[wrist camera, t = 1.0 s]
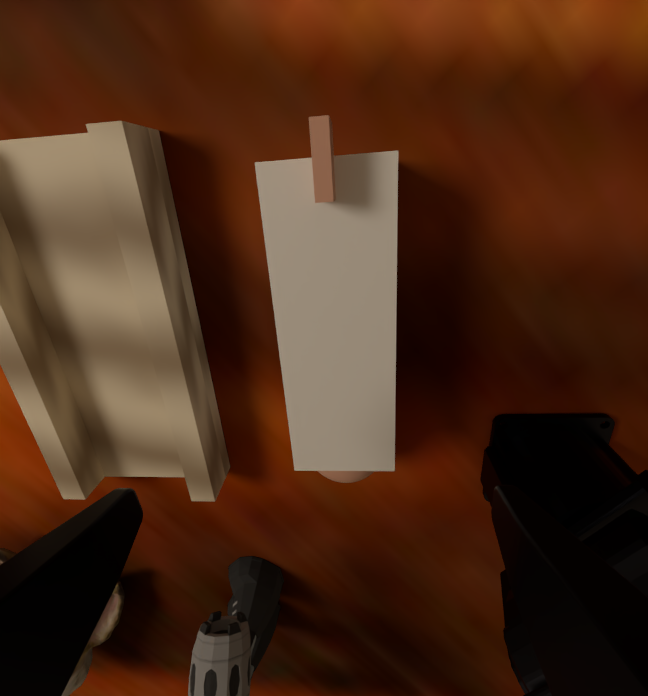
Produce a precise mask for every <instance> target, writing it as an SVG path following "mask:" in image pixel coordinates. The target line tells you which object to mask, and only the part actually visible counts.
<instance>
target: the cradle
mask: <svg viewBox="0 0 648 696" xmlns="http://www.w3.org/2000/svg"><path fill="white" fill-rule="evenodd" d="M86 127H87V130H88V133H81V134H70V135H58V136H47V137H36V138H25V139H13V140H2V141H0V365H1V367H2V369H3V371H4V373H5V375H6V377H7V379H8V382H9V384H10V386H11V388H12V390H13V392H14V394H15V397H16V399H17V401H18V403H19V405H20V407H21V409H22V412H23V414H24V416H25V418H26V420H27V422H28V424H29V426H30V429H31V431H32V433H33V435H34V437H35V439H36V441H37V444H38V446H39V448H40V450H41V452H42V454H43V456H44V459H45V461H46V463H47V465H48V467H49V469H50V471H51V474H52V476H53V478H54V480H55V482H56V484H57V486H58V488H59V491H60V493H61V495H62V497H63V499H86V498H87V497H88V496H89V494H90V493H91V492H92V491H93V490H94V489H95V487H96V486H97V485H98V484H99V483H100V482H101V480H102V479H103V478H104V477H105V476H114V477H185V479H186V483H187V487H188V490H189V494H190V497H191V501H216V498H217V496H218V494H219V491H220V489H221V487H222V485H223V482H224V480H225V478H226V476H227V473H228V471H229V469H230V463H229V458H228V453H227V449H226V444H225V439H224V435H223V430H222V425H221V421H220V416H219V411H218V406H217V402H216V397H215V392H214V388H213V383H212V378H211V374H210V369H209V364H208V359H207V355H206V350H205V345H204V341H203V336H202V331H201V327H200V322H199V317H198V312H197V308H196V303H195V298H194V294H193V289H192V284H191V280H190V275H189V270H188V265H187V261H186V256H185V251H184V247H183V242H182V237H181V233H180V228H179V223H178V218H177V214H176V209H175V204H174V200H173V195H172V190H171V186H170V181H169V176H168V171H167V167H166V162H165V157H164V153H163V148H162V143H161V139H160V134H159V130H155V129H151V128H147V127H144V126H140V125H136V124H132V123H128V122H124V121H115V122H104V123H93V124H86Z"/></svg>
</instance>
